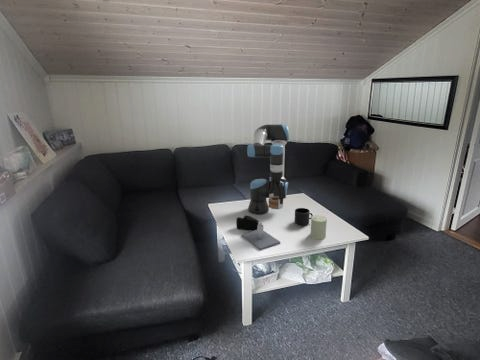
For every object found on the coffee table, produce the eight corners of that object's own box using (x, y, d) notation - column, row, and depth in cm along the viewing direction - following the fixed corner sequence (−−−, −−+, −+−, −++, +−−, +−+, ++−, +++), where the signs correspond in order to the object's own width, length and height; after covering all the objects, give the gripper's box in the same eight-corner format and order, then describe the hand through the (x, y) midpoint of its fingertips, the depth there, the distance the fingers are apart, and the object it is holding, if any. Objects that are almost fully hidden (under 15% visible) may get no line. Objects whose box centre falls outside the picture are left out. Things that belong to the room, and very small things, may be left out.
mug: (314, 225, 192) (315, 212, 189) (297, 226, 191) (297, 213, 188) (309, 219, 201) (310, 207, 198) (292, 220, 200) (293, 208, 197)
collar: (266, 205, 184) (266, 198, 182) (276, 202, 188) (277, 195, 186) (274, 210, 177) (274, 202, 175) (285, 207, 181) (285, 199, 179)
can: (308, 232, 183) (309, 214, 179) (322, 231, 183) (323, 214, 180) (312, 239, 174) (314, 221, 170) (328, 239, 174) (329, 220, 171)
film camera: (261, 225, 193) (261, 213, 191) (257, 232, 184) (257, 219, 182) (239, 223, 198) (239, 210, 195) (234, 229, 189) (234, 216, 187)
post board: (241, 235, 180) (241, 219, 177) (260, 230, 187) (260, 214, 184) (260, 250, 164) (260, 232, 161) (280, 243, 170) (280, 226, 167)
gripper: (261, 167, 182) (260, 201, 189) (282, 176, 165) (281, 213, 172) (270, 166, 186) (270, 199, 193) (293, 173, 168) (291, 210, 175)
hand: (275, 206), depth 182 cm, fingers closed on collar, 8 cm apart
